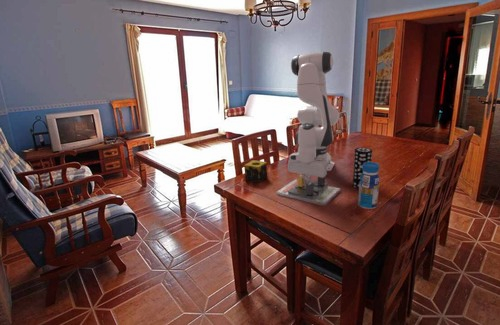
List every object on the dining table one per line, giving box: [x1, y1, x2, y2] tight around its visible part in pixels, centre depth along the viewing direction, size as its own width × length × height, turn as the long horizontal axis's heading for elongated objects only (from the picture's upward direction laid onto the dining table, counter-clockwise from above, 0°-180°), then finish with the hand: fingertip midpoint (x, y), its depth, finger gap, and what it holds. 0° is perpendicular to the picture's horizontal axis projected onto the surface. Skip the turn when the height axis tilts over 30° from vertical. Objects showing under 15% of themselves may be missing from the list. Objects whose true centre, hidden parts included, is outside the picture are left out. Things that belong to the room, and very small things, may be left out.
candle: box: [244, 159, 268, 184], centre depth 171 cm, size 10×10×10 cm
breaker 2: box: [306, 182, 314, 195], centre depth 141 cm, size 4×2×5 cm
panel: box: [276, 179, 341, 207], centre depth 150 cm, size 20×26×3 cm
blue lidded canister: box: [357, 161, 381, 210], centre depth 130 cm, size 8×8×20 cm
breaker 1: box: [296, 174, 305, 187], centre depth 151 cm, size 4×2×5 cm
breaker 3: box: [317, 176, 326, 185], centre depth 151 cm, size 4×2×5 cm
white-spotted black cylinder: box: [352, 147, 373, 190], centre depth 152 cm, size 8×8×20 cm
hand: (306, 182), depth 149 cm, fingers closed
